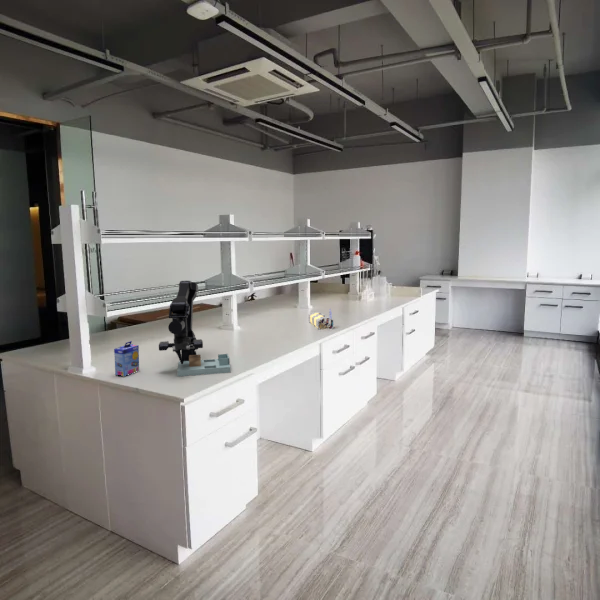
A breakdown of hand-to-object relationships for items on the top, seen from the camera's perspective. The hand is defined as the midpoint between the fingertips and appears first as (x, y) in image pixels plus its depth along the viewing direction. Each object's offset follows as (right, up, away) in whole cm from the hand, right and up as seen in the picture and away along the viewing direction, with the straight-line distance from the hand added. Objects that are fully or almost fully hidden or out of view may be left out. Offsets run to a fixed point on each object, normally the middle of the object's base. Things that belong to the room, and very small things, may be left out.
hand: (182, 363), depth 201 cm
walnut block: (+5, -1, +1) cm, 6 cm away
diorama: (+66, +11, +100) cm, 121 cm away
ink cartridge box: (-23, -4, -2) cm, 24 cm away
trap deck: (+9, -3, +3) cm, 10 cm away
